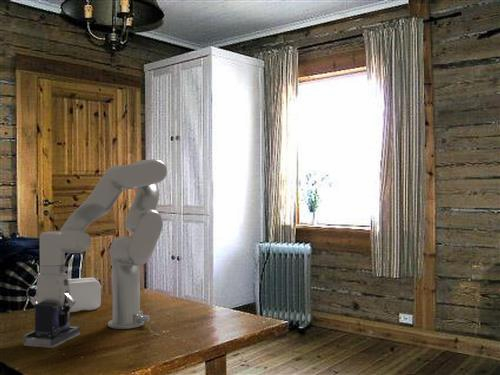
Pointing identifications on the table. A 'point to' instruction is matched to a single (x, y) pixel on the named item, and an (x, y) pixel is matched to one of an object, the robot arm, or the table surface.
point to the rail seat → (50, 342)
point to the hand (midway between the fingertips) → (53, 324)
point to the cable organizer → (85, 294)
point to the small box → (49, 320)
